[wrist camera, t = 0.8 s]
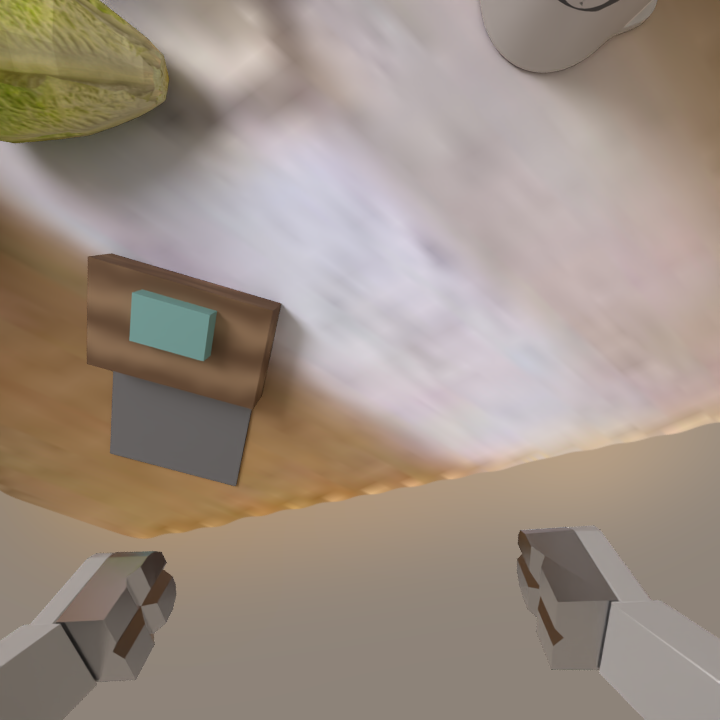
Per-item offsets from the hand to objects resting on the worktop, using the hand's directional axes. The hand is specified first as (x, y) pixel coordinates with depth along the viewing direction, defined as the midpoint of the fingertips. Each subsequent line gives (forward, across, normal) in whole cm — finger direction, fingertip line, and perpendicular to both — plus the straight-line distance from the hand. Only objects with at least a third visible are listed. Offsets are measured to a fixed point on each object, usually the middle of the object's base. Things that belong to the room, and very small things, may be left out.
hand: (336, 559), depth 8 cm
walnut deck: (+40, +24, +3) cm, 47 cm away
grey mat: (+40, +31, +18) cm, 54 cm away
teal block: (+36, +24, +2) cm, 43 cm away
